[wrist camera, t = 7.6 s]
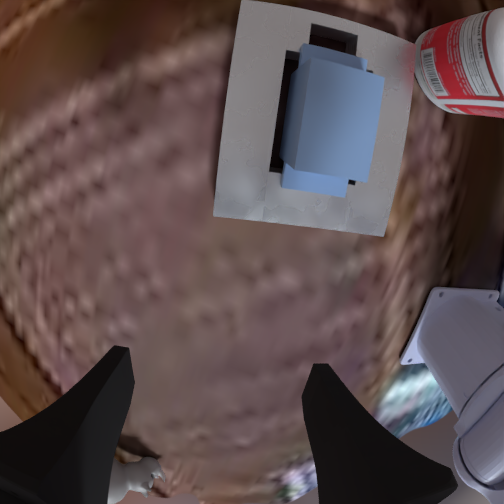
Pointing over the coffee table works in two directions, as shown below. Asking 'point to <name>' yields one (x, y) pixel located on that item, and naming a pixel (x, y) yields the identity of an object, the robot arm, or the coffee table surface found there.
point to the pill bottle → (464, 64)
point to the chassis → (265, 113)
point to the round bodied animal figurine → (133, 477)
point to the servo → (329, 122)
